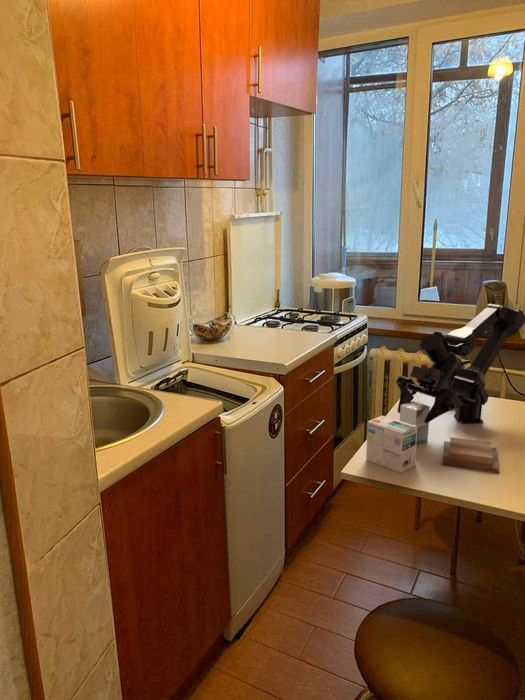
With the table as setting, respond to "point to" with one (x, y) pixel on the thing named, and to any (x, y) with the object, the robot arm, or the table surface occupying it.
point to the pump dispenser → (455, 373)
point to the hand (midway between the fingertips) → (411, 417)
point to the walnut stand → (470, 455)
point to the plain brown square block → (416, 418)
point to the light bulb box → (391, 443)
